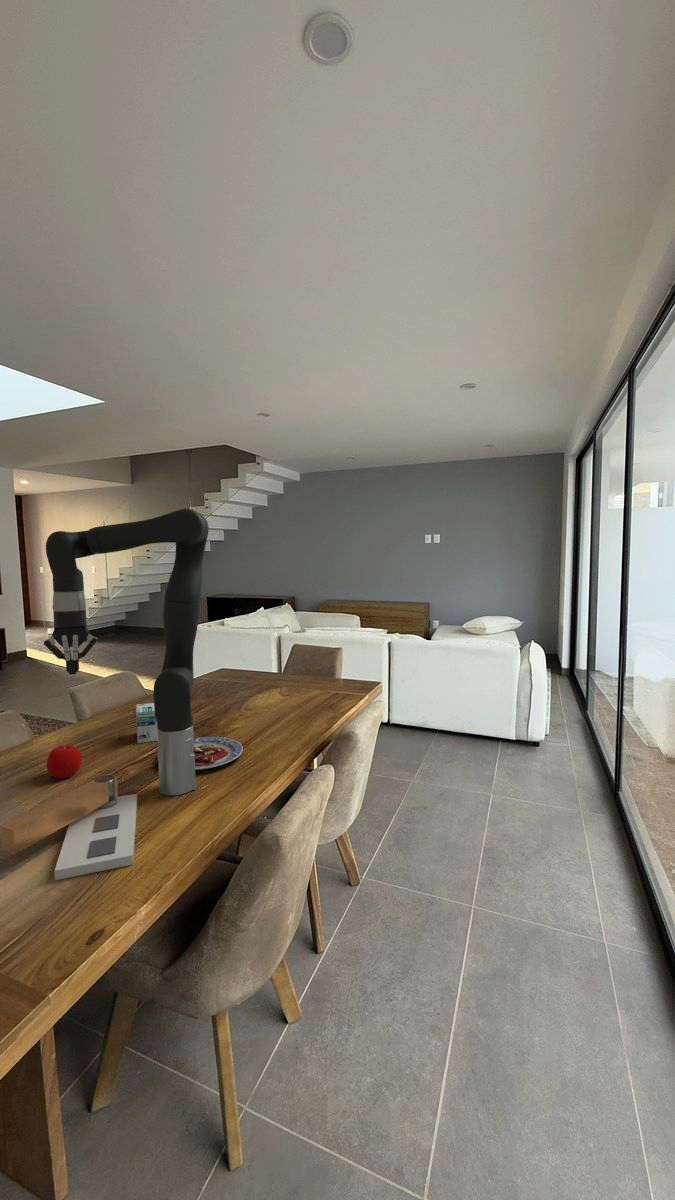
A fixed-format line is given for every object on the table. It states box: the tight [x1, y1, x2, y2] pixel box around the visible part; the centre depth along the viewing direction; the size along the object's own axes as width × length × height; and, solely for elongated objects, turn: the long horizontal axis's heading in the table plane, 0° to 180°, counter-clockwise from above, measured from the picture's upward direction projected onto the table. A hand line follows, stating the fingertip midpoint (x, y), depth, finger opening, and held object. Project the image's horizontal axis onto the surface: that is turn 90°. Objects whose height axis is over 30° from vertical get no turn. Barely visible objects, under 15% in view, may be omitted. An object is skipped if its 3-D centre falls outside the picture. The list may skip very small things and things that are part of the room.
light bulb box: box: [135, 702, 158, 744], centre depth 171 cm, size 11×7×11 cm, turn 22°
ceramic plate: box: [194, 736, 244, 771], centre depth 154 cm, size 26×26×3 cm
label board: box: [54, 793, 138, 881], centre depth 111 cm, size 14×28×3 cm, turn 21°
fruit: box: [46, 740, 83, 779], centre depth 141 cm, size 9×9×10 cm
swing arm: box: [0, 773, 119, 855], centre depth 110 cm, size 4×26×5 cm, turn 157°
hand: (72, 673), depth 129 cm, fingers closed
